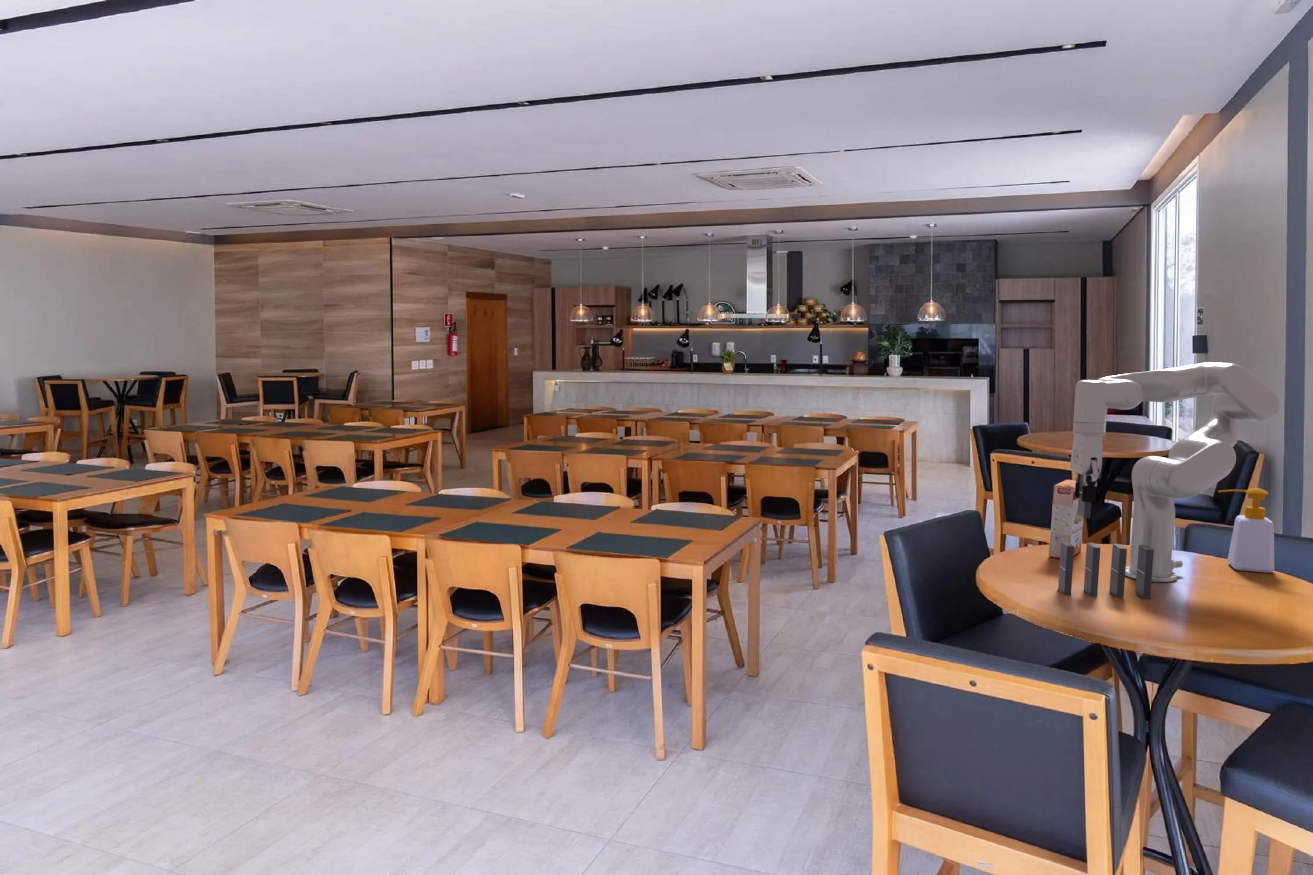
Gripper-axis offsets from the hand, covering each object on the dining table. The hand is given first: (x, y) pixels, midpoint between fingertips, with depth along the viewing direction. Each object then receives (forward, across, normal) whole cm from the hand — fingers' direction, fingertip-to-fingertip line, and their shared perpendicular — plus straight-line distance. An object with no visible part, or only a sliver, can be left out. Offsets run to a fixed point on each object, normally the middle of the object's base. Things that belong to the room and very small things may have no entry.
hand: (1085, 498), depth 234 cm
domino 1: (+21, +13, -8) cm, 26 cm away
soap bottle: (+22, -21, +48) cm, 56 cm away
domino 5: (+21, +13, +10) cm, 27 cm away
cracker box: (+21, -28, +4) cm, 36 cm away
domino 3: (+21, +13, -2) cm, 25 cm away
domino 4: (+21, +13, +4) cm, 25 cm away
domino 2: (+5, 0, 0) cm, 5 cm away
